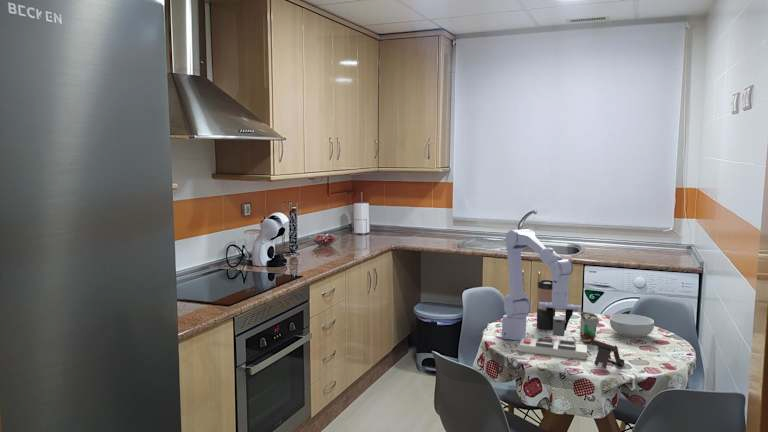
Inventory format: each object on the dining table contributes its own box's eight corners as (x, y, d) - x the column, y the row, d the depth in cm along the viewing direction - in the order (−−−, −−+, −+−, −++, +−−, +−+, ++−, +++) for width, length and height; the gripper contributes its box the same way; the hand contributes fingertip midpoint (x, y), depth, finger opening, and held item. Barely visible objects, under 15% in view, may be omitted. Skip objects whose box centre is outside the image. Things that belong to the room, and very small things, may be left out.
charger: (552, 335, 216) (553, 319, 216) (553, 331, 221) (553, 315, 220) (563, 336, 215) (564, 320, 214) (564, 332, 220) (565, 316, 219)
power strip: (519, 351, 224) (519, 341, 224) (521, 344, 233) (522, 334, 232) (586, 359, 216) (586, 349, 216) (586, 351, 225) (587, 341, 224)
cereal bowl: (633, 328, 255) (634, 312, 255) (662, 339, 240) (663, 322, 239) (600, 331, 250) (601, 315, 249) (628, 343, 234) (629, 326, 234)
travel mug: (556, 330, 250) (558, 284, 248) (538, 330, 250) (540, 283, 248) (551, 325, 258) (553, 280, 256) (534, 325, 258) (536, 279, 256)
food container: (600, 345, 232) (601, 320, 231) (583, 344, 233) (584, 319, 232) (595, 336, 244) (596, 312, 243) (579, 335, 245) (580, 311, 244)
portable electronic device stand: (624, 366, 210) (626, 343, 209) (610, 370, 206) (611, 347, 205) (603, 358, 217) (604, 336, 217) (589, 362, 213) (590, 340, 212)
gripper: (538, 293, 215) (537, 329, 216) (581, 296, 210) (579, 334, 212) (540, 289, 221) (538, 324, 223) (581, 292, 217) (579, 328, 218)
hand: (558, 328), depth 218 cm, fingers closed on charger, 4 cm apart
